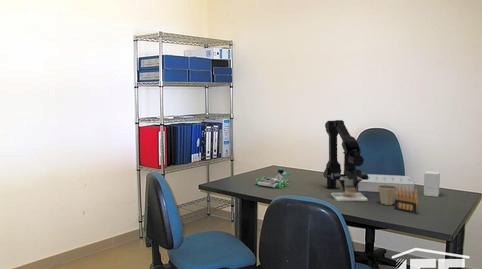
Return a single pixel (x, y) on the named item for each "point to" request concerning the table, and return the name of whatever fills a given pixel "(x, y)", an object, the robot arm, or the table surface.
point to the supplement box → (431, 183)
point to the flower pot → (387, 194)
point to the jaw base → (349, 197)
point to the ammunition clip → (406, 200)
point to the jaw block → (349, 190)
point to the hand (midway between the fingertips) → (348, 191)
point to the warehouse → (385, 182)
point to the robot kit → (274, 180)
